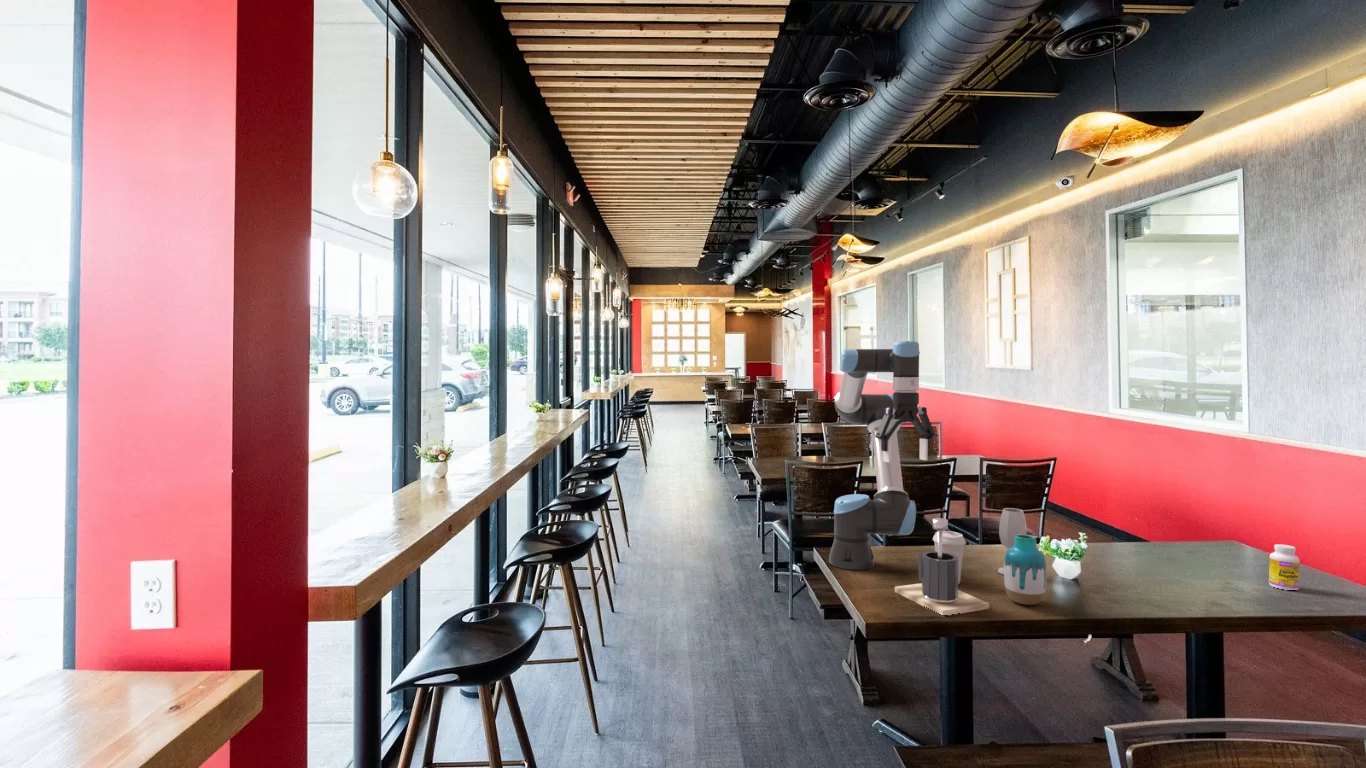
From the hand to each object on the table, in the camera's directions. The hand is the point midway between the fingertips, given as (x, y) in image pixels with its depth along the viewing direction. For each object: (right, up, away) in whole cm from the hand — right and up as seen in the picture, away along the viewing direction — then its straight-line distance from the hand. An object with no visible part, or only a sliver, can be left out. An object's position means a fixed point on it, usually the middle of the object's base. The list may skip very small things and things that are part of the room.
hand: (905, 461), depth 193 cm
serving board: (+6, -39, -11) cm, 41 cm away
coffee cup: (+15, -39, +5) cm, 42 cm away
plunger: (+5, -36, -13) cm, 39 cm away
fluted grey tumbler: (+4, -37, -12) cm, 40 cm away
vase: (+29, -39, -13) cm, 51 cm away
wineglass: (+39, -39, +13) cm, 57 cm away
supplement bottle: (+115, -39, -1) cm, 122 cm away
